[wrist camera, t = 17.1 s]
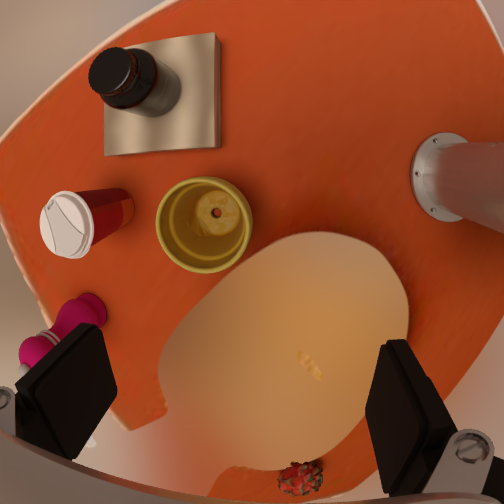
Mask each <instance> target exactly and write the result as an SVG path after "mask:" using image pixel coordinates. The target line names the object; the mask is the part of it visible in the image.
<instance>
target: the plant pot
mask: <svg viewBox="0 0 504 504" xmlns="http://www.w3.org/2000/svg"><path fill="white" fill-rule="evenodd" d="M215 208H218V209H220V210H221V216H220V217H215V216H214V215H213V214H212V211H213V209H215ZM155 224H156V233H157V237H158V240H159V242H160V244H161V246H162V248H163V250H164V251H165V253H166V254H167V255H168V257H169V258H170V259H171V260H172V261H174V262H175V263H176V264H177V265H179V266H181V267H182V268H184V269H186V270H189V271H192V272H196V273H205V274H207V273H215V272H219V271H222V270H224V269H226V268H228V267H230V266H231V265H233V264H234V263H235V262H236V261H237V260H238V259H239V258H240V257H241V256H242V254H243V253H244V251H245V249H246V247H247V245H248V243H249V240H250V237H251V233H252V226H253V219H252V213H251V209H250V206H249V204H248V202H247V200H246V198H245V197H244V195H243V194H242V193H241V192H240V191H239V190H238V189H237V188H236V187H235V186H234V185H232V184H231V183H229V182H227V181H225V180H223V179H220V178H216V177H210V176H201V177H194V178H190V179H186V180H184V181H181V182H179V183H178V184H176V185H175V186H173V187H172V188H171V189H170V190H169V191H168V192H167V193H166V194H165V195H164V197H163V198H162V200H161V202H160V204H159V207H158V210H157V214H156V223H155Z"/></svg>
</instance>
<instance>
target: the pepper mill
mask: <svg viewBox="0 0 504 504" xmlns="http://www.w3.org/2000/svg"><path fill="white" fill-rule="evenodd" d="M106 318H107V312H106V309H105V306H104V304H103V303H102V301H101V300H100V299H99V298H98V297H96V296H95V295H93V294H90V293H84V294H82V295H80V296H79V297H78V298H76V299H72V300H69V301H67V302H66V303H65V304H64V305H63V306H62V307H61V309H60V311H59V312H58V315H57V318H56V321H55V324H54V325H53V326H52V327H51V328H50V329H49V330H42V331H41V332H40V333H39V334H37V335H36V337H29V338H27V339H26V340H25V341H23V343H22V344H21V346H20V348H19V360H20V363H21V365H20V366H19V373H20V375H21V376H22V377H23V376H24V375H25V374H26V373H27V372H28V371H29V370H30V369H31V368H32V367H33V366H34V365H35V364H36V363H37V362H38V361H39V360H40V359H41V358H42V357H44V356H45V355H46V354H47V353H48V352H49V351H50V350H51V349H52V348H53V347H54V346H55V345H56V344H58V343H59V342H60V341H61V340H62V339H63V338H64V337H65V336H66V335H67V334H69V333H70V332H71V331H72V330H73V329H74V328H75V327H76V326H77V325H79V324H80V323H81V322H84V323H90V324H96V325H97V326H98V328H100V327H101V326H102V325H103V324H104V323H105V321H106Z"/></svg>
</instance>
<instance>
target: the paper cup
mask: <svg viewBox="0 0 504 504" xmlns="http://www.w3.org/2000/svg"><path fill="white" fill-rule="evenodd" d="M133 214H134V202H133V199H132V197H131V196H130V194H129V193H128V192H127V191H125V190H123V189H119V188H113V189H101V190H89V191H82V192H74V193H73V192H70V191H62V192H59V193H56V194H55V195H54V196H52V197H51V199H50V200H49V201H48V203H47V204H46V206H44V207H43V210H42V212H41V216H40V230H41V235H42V238H43V240H44V242H45V244H46V245H47V247H48V248H49V249H50V250H51V251H52V252H53V253H54V254H56V255H59V256H63V257H66V258H81V257H83V256H84V255H85V254H86V253H87V252H88V251H89V249H90V247H91V246H92V245H94V244H96V243H97V242H99V241H100V240H102V239H104V238H105V237H107V236H108V235H110V234H112V233H113V232H115V231H116V230H118V229H120V228H121V227H123V226H124V225H126V224H127V223H128V222H129V221H130V220H131V219H132V217H133Z"/></svg>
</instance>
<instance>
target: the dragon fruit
mask: <svg viewBox="0 0 504 504" xmlns="http://www.w3.org/2000/svg"><path fill="white" fill-rule="evenodd" d="M314 464H315V466H317V463H316V462H311V463H309V462H304V463H303V464H299V463H298V462H295V463H292V462H291V465H292V467H289V468H286V470H284V471H283V473H282V474H281V476H280V477H279V479H277V480H279V484H278V486H279V488H280V490H281V491H282V493H284V494H289V495H291V496H292V497H294V496H299V495H300V494H302V495H303V496H304V495H308V494H309V492H310V491H318V490H319V488H318V487H320V486H321V483H322V482H323V475H322V474H321V472H322V471H323V469H322V468H319V467H314Z"/></svg>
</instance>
